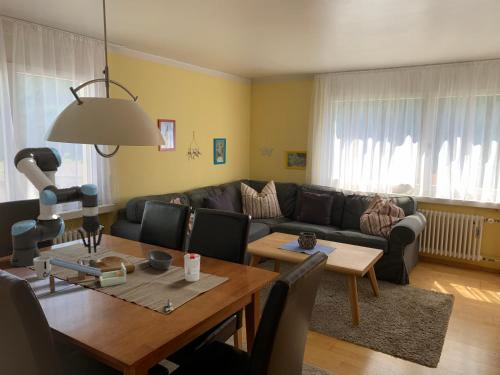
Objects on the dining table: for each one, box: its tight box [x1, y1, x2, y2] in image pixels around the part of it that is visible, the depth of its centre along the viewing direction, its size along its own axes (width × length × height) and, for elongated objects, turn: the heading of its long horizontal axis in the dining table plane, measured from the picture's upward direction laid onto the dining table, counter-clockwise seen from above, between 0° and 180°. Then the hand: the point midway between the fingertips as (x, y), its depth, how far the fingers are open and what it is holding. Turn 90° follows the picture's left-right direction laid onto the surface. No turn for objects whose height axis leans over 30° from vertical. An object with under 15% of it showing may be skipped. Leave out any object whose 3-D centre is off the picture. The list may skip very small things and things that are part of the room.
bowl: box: [145, 249, 174, 271], centre depth 206 cm, size 12×22×6 cm, turn 39°
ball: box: [116, 270, 122, 277], centre depth 185 cm, size 3×3×3 cm
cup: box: [33, 255, 52, 280], centre depth 187 cm, size 8×8×10 cm
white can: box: [183, 253, 201, 283], centre depth 187 cm, size 10×8×12 cm
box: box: [98, 262, 127, 288], centre depth 183 cm, size 10×12×7 cm
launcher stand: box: [48, 259, 96, 294], centre depth 181 cm, size 18×20×10 cm
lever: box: [49, 256, 103, 277], centre depth 181 cm, size 18×24×4 cm
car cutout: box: [164, 298, 174, 312], centre depth 152 cm, size 15×7×4 cm, turn 20°
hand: (92, 258), depth 192 cm, fingers closed
